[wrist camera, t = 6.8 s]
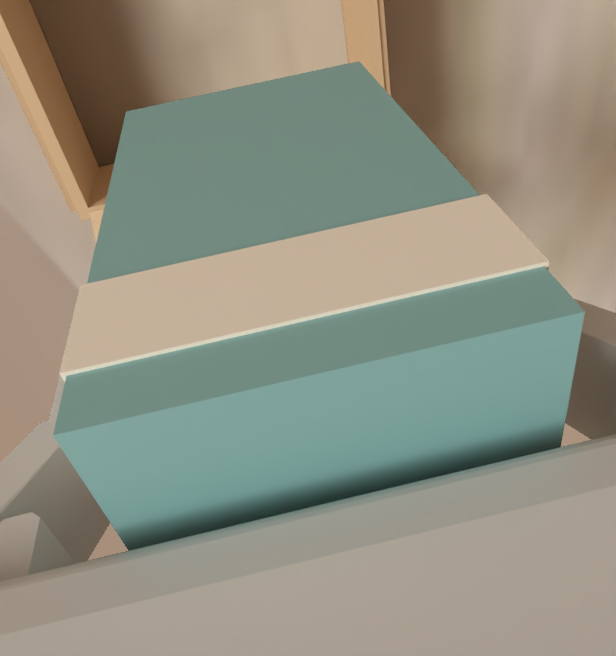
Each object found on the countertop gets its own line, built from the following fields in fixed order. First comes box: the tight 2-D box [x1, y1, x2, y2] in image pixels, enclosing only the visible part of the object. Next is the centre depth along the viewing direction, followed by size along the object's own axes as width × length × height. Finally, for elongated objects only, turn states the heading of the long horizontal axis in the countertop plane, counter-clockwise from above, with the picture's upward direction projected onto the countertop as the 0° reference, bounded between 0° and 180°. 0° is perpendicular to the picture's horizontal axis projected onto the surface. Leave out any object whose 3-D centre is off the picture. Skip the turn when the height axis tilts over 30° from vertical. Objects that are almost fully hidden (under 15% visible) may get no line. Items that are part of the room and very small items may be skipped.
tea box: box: [53, 61, 585, 551], centre depth 11 cm, size 5×6×9 cm
